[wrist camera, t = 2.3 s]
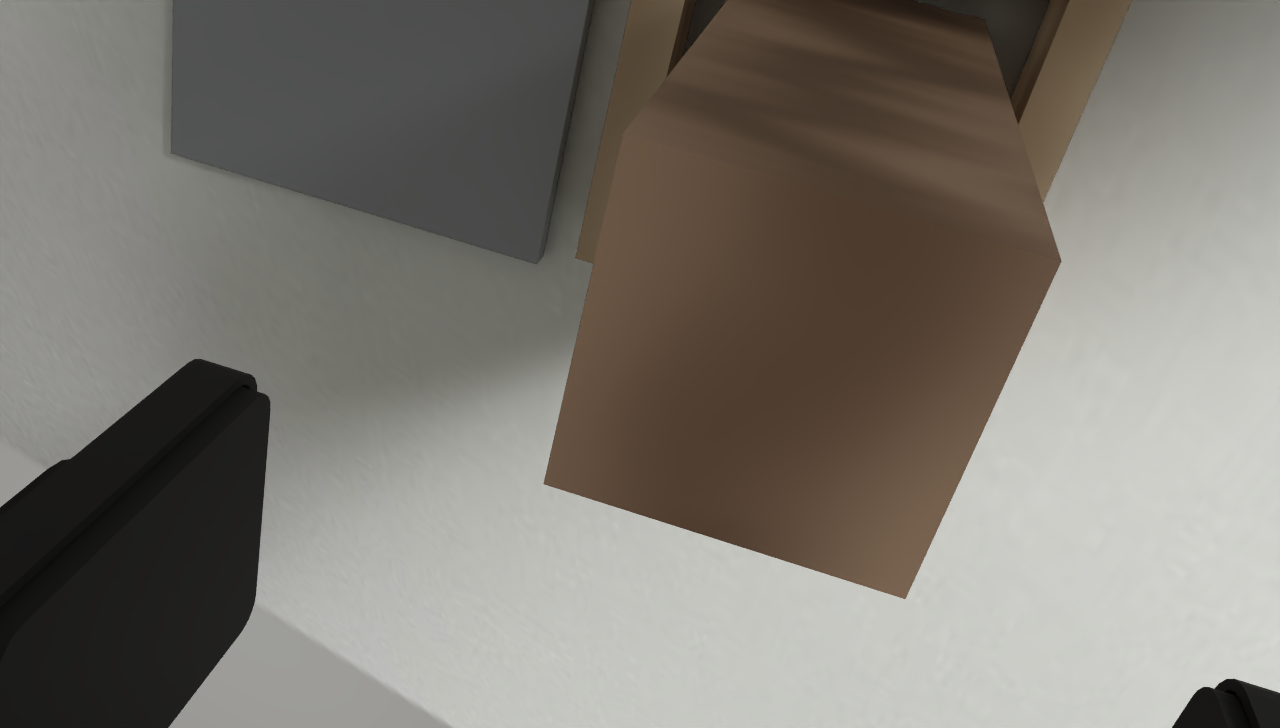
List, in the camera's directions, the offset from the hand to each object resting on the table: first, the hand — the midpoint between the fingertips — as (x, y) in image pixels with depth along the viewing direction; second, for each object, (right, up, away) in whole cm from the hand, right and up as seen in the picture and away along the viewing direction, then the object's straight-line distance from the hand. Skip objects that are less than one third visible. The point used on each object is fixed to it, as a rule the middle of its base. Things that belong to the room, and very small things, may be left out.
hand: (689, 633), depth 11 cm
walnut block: (+4, +9, +17) cm, 20 cm away
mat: (-7, +12, +18) cm, 23 cm away
